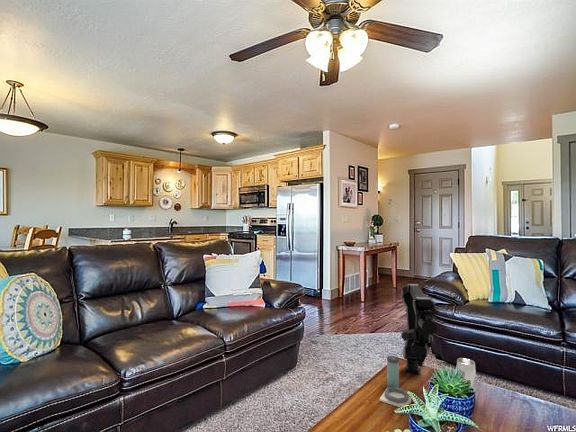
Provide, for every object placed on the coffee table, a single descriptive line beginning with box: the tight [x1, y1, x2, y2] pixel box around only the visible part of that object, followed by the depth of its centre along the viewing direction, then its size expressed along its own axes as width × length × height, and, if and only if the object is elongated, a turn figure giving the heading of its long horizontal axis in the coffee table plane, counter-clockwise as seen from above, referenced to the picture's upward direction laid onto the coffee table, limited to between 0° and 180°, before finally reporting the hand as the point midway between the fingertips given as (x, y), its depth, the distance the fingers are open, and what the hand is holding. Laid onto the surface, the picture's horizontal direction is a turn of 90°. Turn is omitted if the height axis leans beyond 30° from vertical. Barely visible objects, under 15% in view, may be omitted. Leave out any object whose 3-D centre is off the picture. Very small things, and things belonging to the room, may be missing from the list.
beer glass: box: [456, 357, 477, 389], centre depth 136 cm, size 7×7×15 cm
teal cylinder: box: [386, 355, 400, 388], centre depth 145 cm, size 5×5×12 cm
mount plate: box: [379, 386, 413, 408], centre depth 135 cm, size 11×11×2 cm
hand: (422, 362), depth 140 cm, fingers open, 9 cm apart
